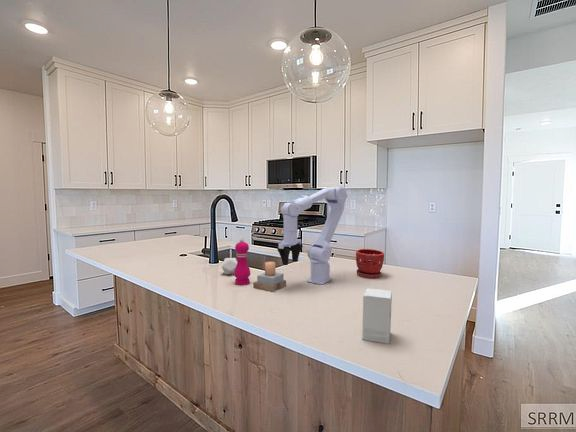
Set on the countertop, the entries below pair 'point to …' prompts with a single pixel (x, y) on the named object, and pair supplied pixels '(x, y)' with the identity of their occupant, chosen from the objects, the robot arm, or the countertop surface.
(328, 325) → the countertop surface
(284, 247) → the robot arm
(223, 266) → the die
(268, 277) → the tower top
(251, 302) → the countertop surface
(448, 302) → the countertop surface
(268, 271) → the cylinder
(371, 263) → the plant pot
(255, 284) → the tower base
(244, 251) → the pepper mill
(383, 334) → the supplement box
